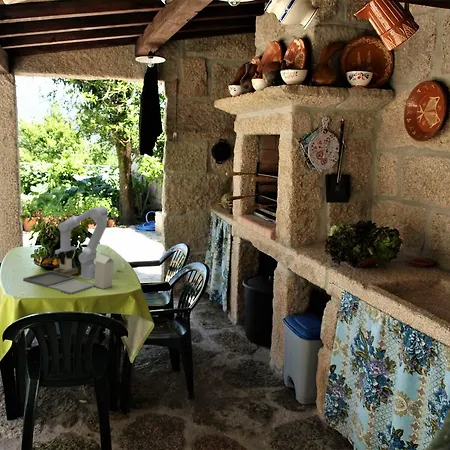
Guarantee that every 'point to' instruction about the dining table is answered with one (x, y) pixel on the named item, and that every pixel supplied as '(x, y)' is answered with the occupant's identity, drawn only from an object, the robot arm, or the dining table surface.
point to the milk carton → (103, 271)
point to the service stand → (66, 271)
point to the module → (66, 264)
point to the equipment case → (59, 282)
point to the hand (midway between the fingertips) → (65, 263)
